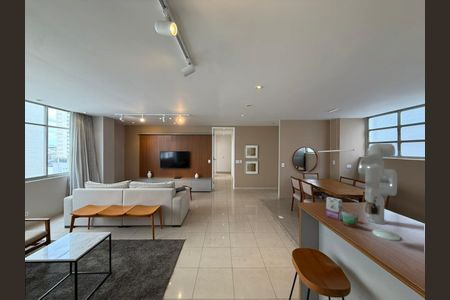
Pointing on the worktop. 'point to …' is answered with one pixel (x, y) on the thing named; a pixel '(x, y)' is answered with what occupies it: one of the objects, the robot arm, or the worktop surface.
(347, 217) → the food container
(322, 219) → the worktop surface
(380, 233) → the dish
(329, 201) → the candy bar box
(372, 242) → the worktop surface
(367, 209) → the walnut block
